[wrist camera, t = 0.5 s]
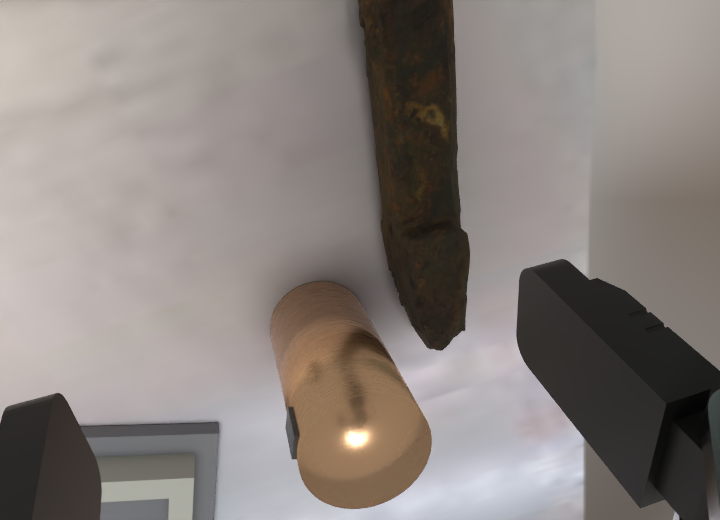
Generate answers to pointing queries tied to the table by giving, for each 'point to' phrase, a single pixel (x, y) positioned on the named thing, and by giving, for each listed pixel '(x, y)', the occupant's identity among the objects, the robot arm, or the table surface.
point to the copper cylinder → (345, 400)
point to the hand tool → (418, 159)
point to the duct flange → (156, 470)
